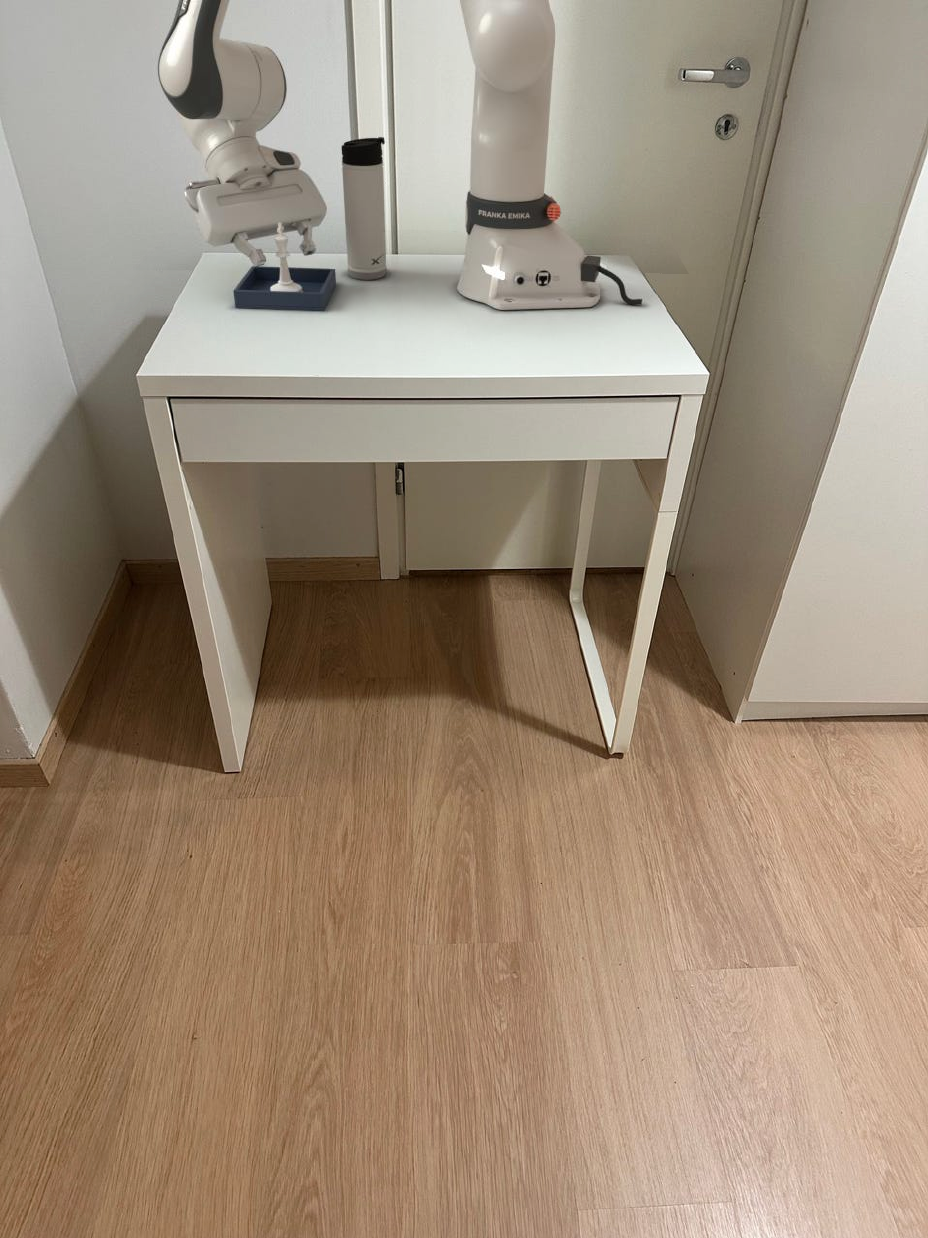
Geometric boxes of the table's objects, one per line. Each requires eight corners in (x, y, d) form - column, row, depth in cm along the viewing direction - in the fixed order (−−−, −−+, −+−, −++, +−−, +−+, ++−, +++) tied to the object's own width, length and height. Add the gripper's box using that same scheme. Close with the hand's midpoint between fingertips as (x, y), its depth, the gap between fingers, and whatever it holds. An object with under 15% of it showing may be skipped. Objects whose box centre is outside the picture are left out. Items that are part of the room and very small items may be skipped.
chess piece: (307, 288, 136) (301, 219, 130) (296, 298, 133) (290, 228, 126) (276, 286, 137) (269, 217, 131) (265, 296, 133) (257, 226, 127)
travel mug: (386, 280, 142) (382, 141, 130) (345, 279, 142) (337, 140, 130) (390, 269, 147) (386, 134, 134) (350, 267, 147) (343, 132, 134)
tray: (336, 284, 140) (335, 268, 138) (323, 310, 130) (322, 293, 129) (253, 281, 140) (251, 265, 138) (235, 307, 130) (233, 290, 129)
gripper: (183, 169, 122) (231, 258, 123) (305, 152, 134) (348, 234, 134) (174, 198, 128) (219, 283, 128) (292, 179, 139) (333, 257, 139)
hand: (286, 258), depth 131 cm, fingers open, 7 cm apart
